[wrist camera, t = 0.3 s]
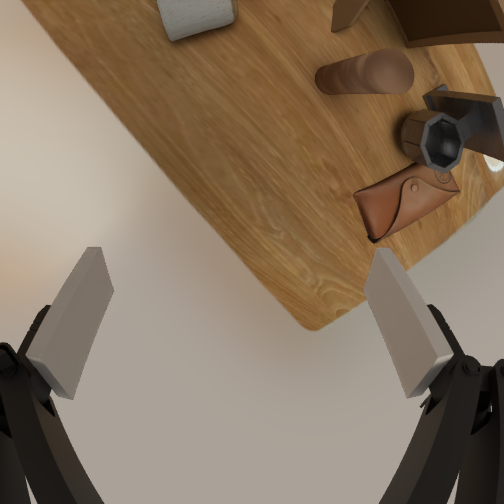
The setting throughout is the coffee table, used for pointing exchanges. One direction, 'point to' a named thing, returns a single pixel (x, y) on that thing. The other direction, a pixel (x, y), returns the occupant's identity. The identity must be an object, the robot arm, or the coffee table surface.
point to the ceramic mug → (195, 16)
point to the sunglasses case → (403, 199)
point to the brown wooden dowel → (367, 74)
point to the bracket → (453, 128)
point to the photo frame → (434, 20)
